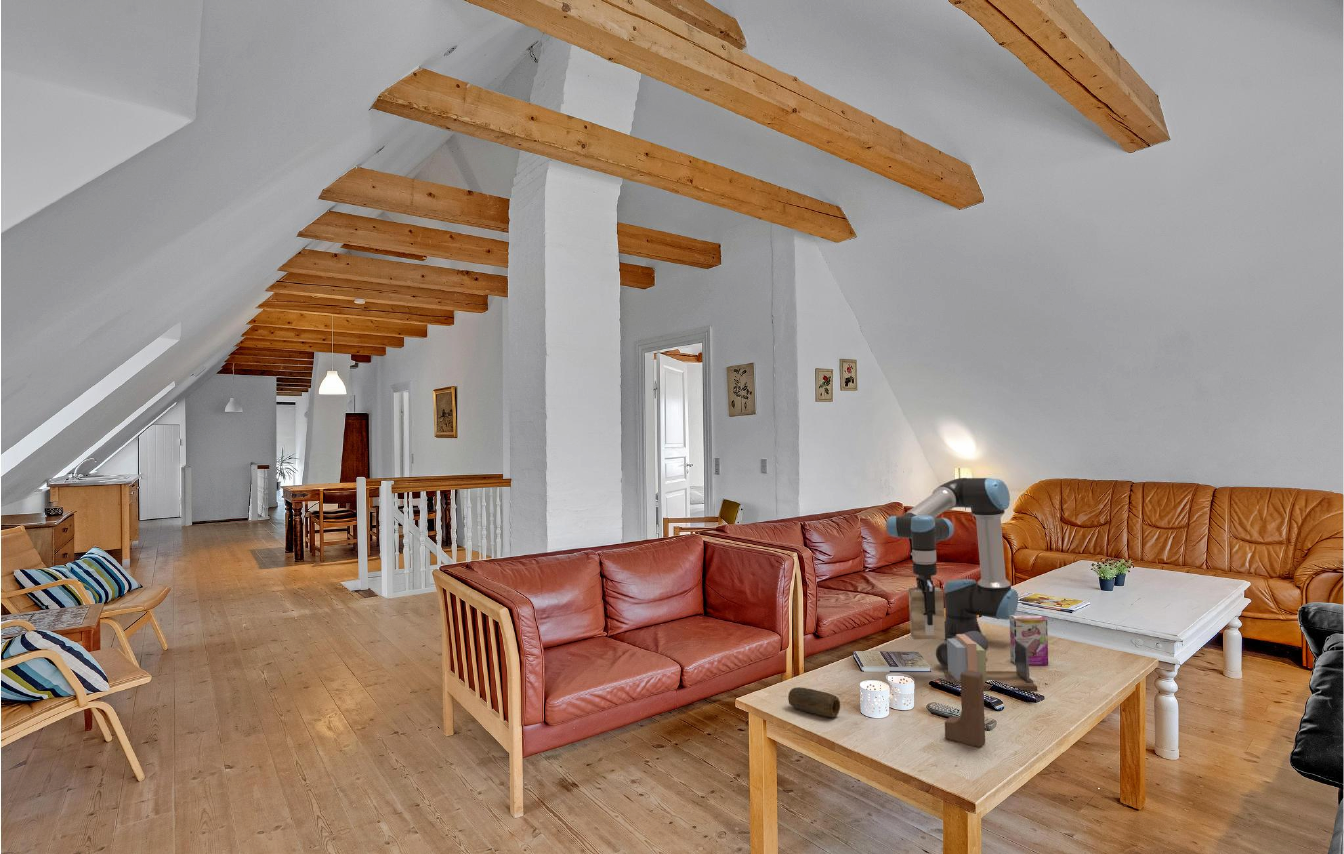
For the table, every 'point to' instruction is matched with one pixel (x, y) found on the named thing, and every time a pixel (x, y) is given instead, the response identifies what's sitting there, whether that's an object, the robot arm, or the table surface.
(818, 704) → the portable cylindrical speaker
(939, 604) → the tan rectangular block
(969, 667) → the book row
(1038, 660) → the candy bar box
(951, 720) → the wooden block
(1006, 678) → the shelf
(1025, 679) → the bookend
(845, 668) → the table surface
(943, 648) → the bluetooth speaker
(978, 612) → the robot arm
